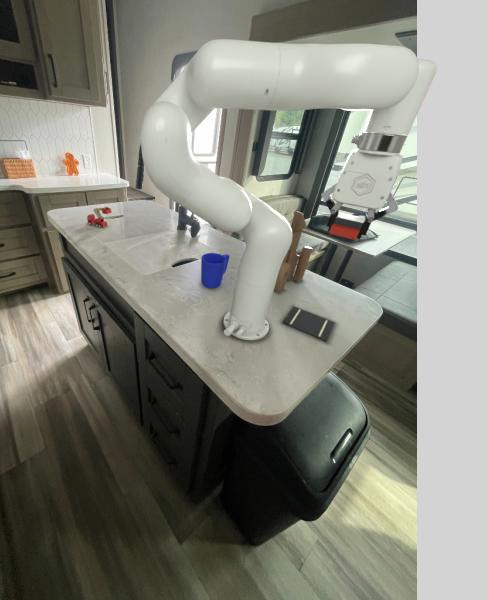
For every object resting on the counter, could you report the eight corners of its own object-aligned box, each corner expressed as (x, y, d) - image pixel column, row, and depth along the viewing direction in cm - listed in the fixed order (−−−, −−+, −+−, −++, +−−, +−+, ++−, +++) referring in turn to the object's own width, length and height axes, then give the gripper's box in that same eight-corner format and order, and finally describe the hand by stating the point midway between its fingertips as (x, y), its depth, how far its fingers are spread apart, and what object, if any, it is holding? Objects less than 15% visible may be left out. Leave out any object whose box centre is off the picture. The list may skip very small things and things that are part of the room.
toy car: (359, 233, 64) (335, 227, 67) (366, 216, 62) (341, 211, 64) (354, 243, 59) (327, 236, 61) (361, 225, 56) (334, 219, 59)
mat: (325, 341, 72) (326, 340, 71) (282, 323, 77) (283, 321, 77) (333, 323, 79) (334, 322, 78) (293, 307, 84) (294, 306, 84)
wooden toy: (278, 293, 90) (300, 220, 76) (262, 284, 94) (280, 213, 80) (303, 280, 98) (327, 212, 84) (287, 273, 102) (308, 206, 88)
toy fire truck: (91, 222, 134) (88, 202, 129) (113, 227, 130) (111, 207, 124) (86, 223, 132) (83, 203, 126) (108, 229, 127) (106, 209, 122)
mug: (234, 281, 95) (238, 255, 89) (212, 293, 87) (216, 266, 82) (216, 272, 99) (219, 247, 94) (194, 283, 92) (196, 257, 86)
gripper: (329, 140, 53) (303, 228, 64) (434, 151, 46) (384, 249, 56) (337, 139, 59) (311, 221, 69) (432, 149, 51) (387, 239, 61)
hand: (344, 233), depth 62 cm, fingers closed on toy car, 5 cm apart
